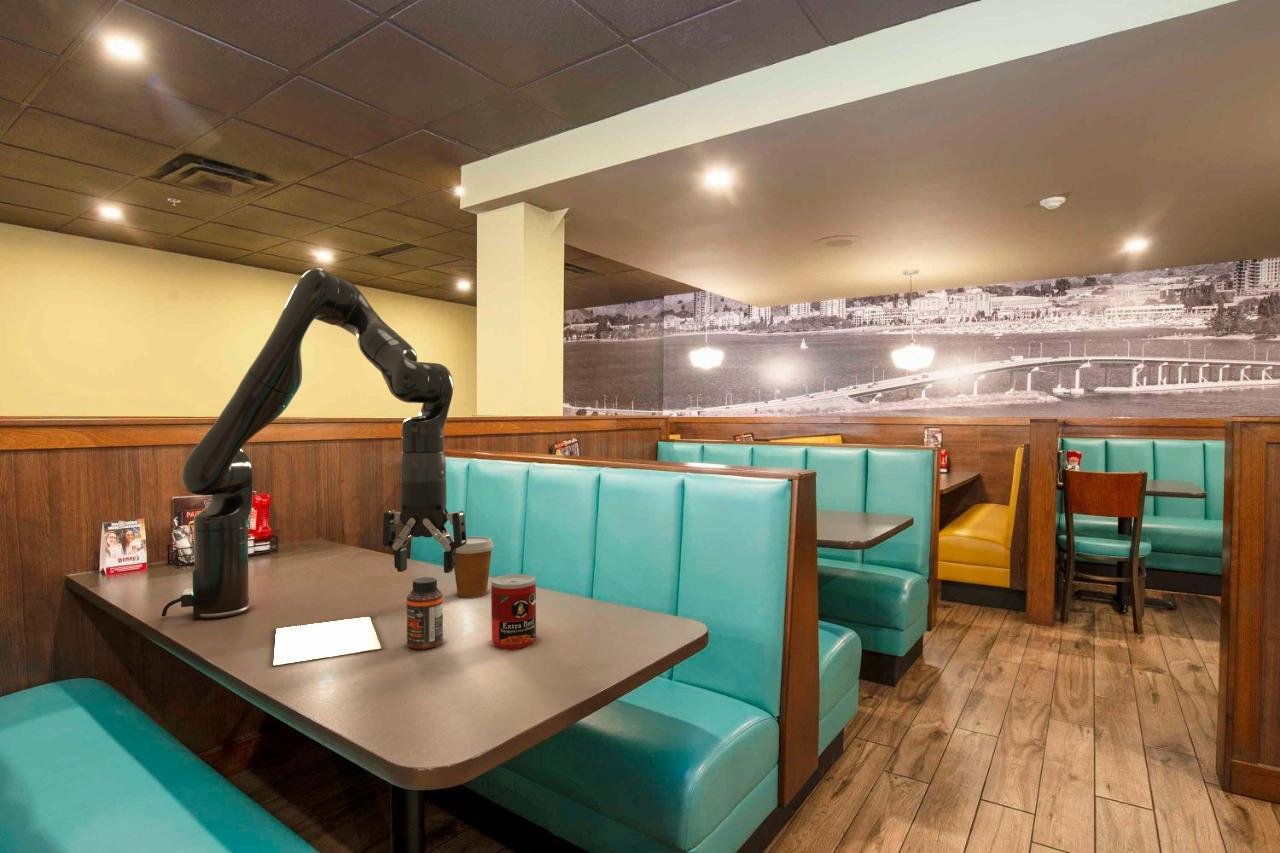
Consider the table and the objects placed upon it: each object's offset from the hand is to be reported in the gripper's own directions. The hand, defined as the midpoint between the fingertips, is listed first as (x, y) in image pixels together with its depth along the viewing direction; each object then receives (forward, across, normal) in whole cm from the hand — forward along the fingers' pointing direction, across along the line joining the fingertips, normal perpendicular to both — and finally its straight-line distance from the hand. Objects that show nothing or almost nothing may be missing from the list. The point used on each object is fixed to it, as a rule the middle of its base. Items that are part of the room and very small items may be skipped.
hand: (425, 571), depth 115 cm
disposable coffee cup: (+13, +5, -32) cm, 35 cm away
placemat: (+13, +19, 0) cm, 23 cm away
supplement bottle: (+13, 0, 0) cm, 13 cm away
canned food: (+13, -15, -3) cm, 20 cm away
